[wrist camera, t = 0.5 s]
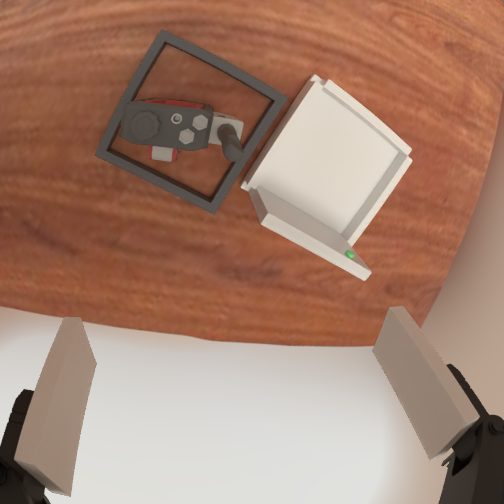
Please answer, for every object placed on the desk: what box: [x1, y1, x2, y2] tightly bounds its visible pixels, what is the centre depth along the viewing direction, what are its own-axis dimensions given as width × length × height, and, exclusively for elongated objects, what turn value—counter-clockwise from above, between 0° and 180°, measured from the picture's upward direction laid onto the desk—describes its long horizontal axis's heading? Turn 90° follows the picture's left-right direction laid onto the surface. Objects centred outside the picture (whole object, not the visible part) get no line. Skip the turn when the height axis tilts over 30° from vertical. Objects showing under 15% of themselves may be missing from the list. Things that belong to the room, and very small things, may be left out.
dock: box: [240, 74, 413, 281], centre depth 31 cm, size 15×15×10 cm
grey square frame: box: [95, 30, 288, 215], centre depth 31 cm, size 15×15×2 cm
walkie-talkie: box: [120, 98, 245, 162], centre depth 23 cm, size 9×4×20 cm, turn 78°
